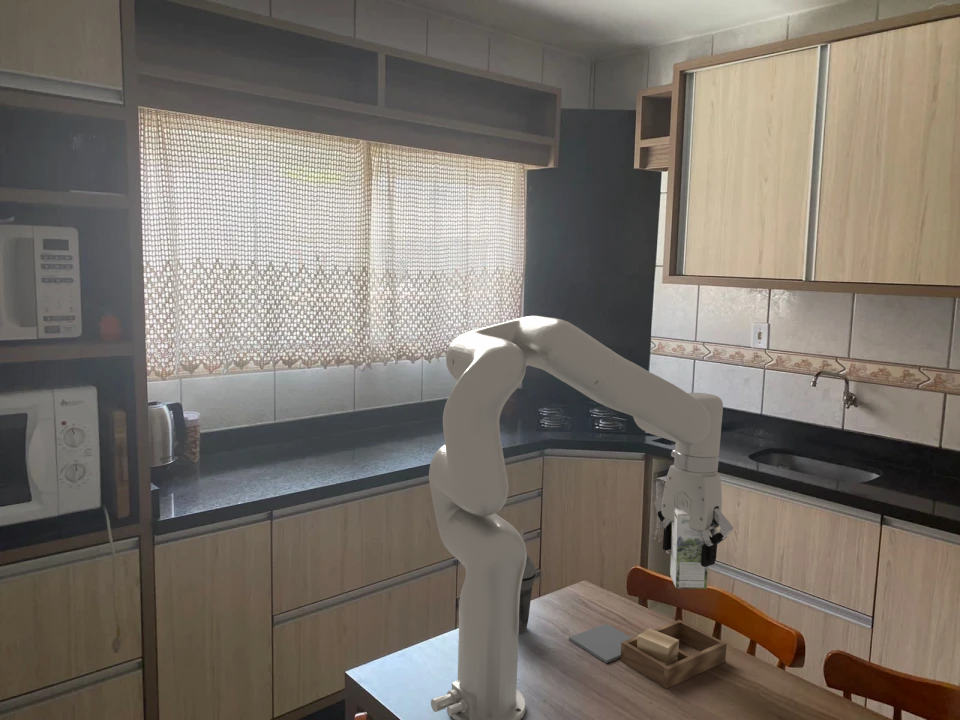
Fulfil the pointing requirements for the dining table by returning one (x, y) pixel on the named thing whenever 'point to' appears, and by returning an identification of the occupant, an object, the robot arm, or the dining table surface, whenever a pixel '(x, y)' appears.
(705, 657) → the divided wooden tray
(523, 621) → the beverage cup
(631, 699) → the dining table surface
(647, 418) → the robot arm
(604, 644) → the plate
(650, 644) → the offcut upper
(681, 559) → the syrup box
